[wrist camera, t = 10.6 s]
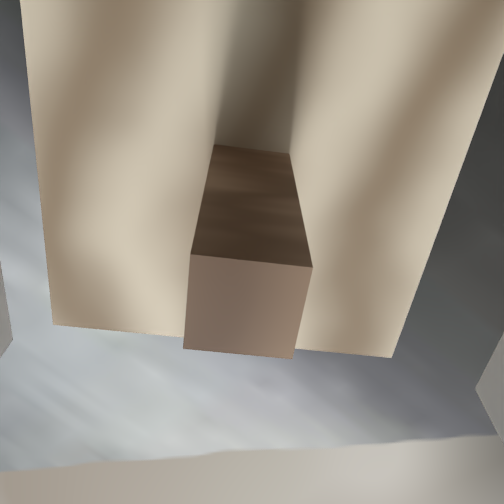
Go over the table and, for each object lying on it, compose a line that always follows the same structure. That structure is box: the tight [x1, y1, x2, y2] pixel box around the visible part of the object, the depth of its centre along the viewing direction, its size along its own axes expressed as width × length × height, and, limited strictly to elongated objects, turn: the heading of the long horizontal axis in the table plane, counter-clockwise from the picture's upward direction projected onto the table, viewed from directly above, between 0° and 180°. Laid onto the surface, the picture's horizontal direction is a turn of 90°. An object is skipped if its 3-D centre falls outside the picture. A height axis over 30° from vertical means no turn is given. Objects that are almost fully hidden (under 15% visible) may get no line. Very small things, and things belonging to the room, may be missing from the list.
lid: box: [20, 0, 504, 359], centre depth 18 cm, size 18×18×10 cm
